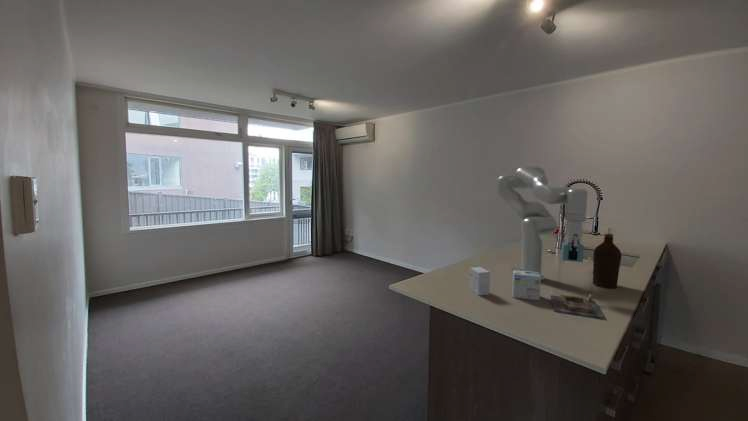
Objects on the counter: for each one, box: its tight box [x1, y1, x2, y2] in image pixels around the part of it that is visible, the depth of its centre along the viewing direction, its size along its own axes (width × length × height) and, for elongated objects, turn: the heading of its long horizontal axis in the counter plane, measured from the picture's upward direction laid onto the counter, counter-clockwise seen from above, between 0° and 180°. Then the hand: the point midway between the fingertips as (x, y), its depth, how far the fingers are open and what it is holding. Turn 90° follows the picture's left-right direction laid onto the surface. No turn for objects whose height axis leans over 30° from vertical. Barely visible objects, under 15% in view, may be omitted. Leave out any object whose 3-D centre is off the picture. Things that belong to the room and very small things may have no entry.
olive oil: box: [592, 233, 622, 290], centre depth 149 cm, size 11×11×25 cm
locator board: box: [550, 293, 605, 320], centre depth 125 cm, size 16×16×4 cm
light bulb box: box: [511, 270, 542, 301], centre depth 136 cm, size 11×7×11 cm, turn 71°
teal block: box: [560, 242, 585, 263], centre depth 137 cm, size 8×4×7 cm, turn 65°
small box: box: [468, 266, 491, 297], centre depth 141 cm, size 8×6×10 cm
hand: (571, 257), depth 137 cm, fingers closed on teal block, 4 cm apart
